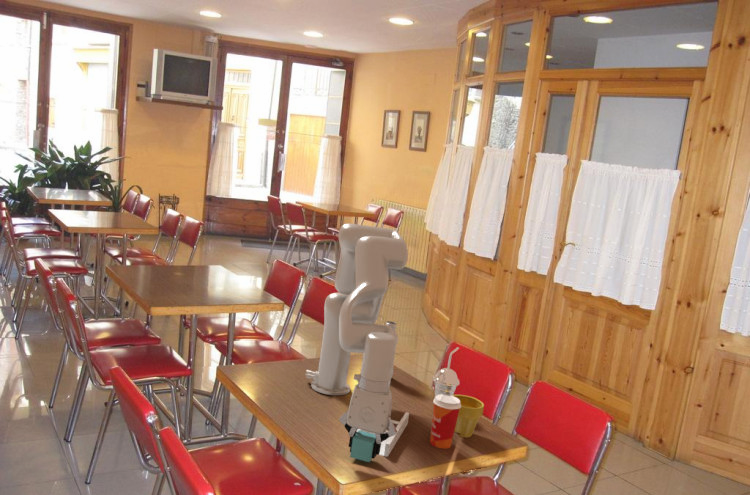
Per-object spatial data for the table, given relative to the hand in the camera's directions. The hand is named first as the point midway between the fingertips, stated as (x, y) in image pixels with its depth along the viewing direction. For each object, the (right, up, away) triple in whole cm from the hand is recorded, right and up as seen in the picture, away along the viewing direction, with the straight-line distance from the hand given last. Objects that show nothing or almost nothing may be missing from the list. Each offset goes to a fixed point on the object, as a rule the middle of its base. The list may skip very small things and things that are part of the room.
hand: (363, 452), depth 161 cm
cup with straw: (+24, -1, +45) cm, 51 cm away
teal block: (+1, +2, +2) cm, 3 cm away
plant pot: (+28, -4, +29) cm, 41 cm away
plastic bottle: (+5, +5, +68) cm, 68 cm away
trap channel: (+4, -2, +17) cm, 17 cm away
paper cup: (+20, -4, +17) cm, 27 cm away
